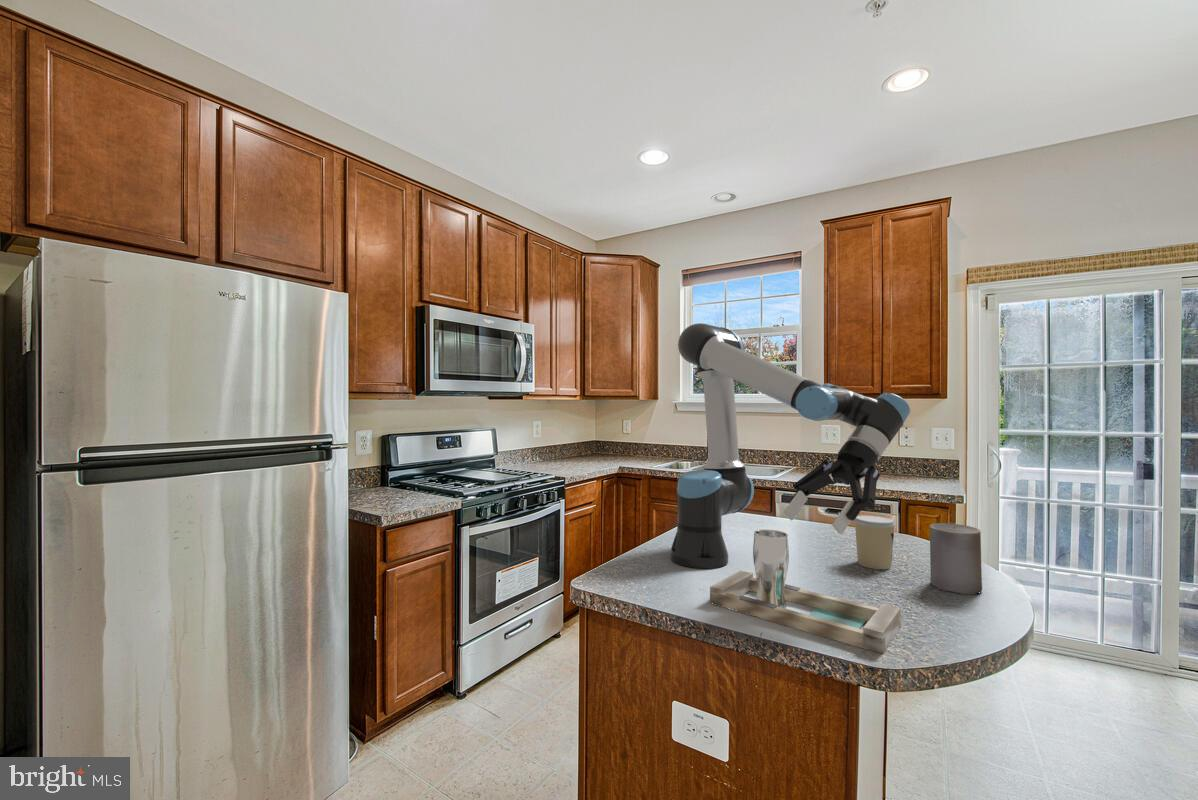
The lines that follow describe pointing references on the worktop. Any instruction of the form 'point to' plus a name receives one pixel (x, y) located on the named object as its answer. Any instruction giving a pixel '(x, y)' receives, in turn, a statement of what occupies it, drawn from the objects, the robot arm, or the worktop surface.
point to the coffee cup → (874, 541)
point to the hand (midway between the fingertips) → (810, 522)
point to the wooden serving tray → (814, 613)
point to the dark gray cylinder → (955, 558)
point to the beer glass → (771, 565)
